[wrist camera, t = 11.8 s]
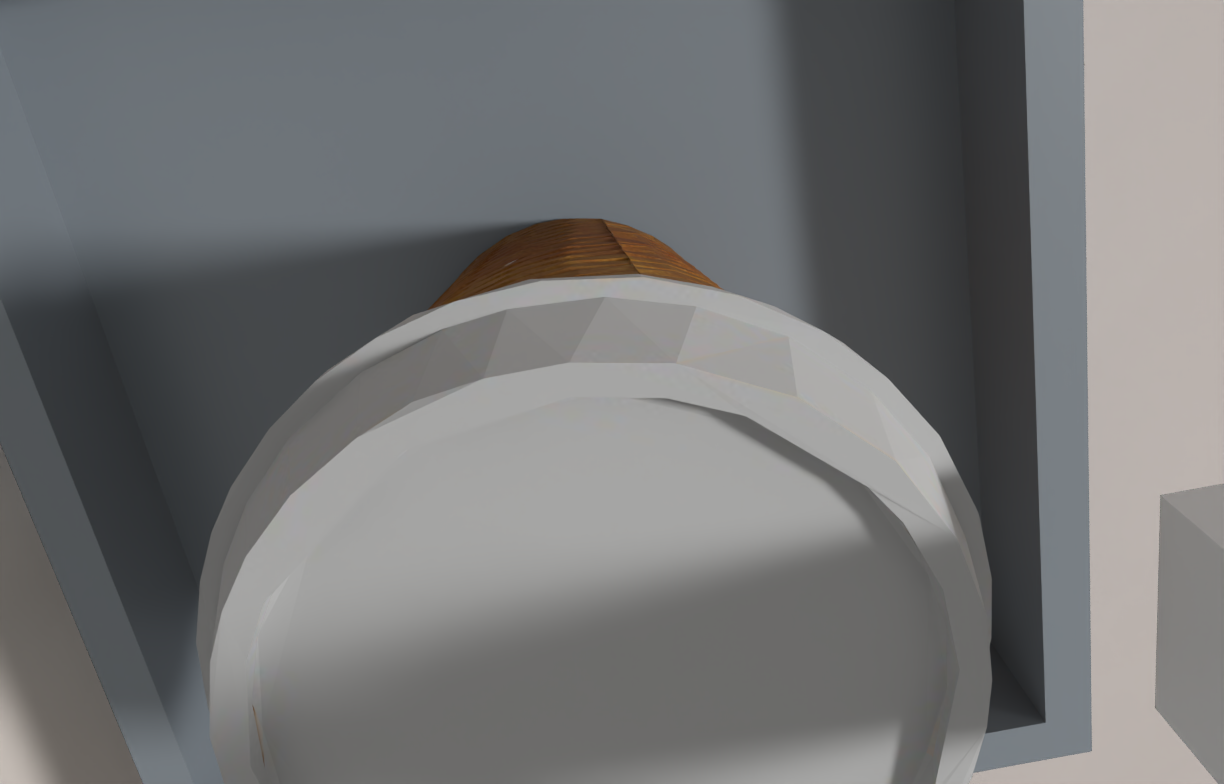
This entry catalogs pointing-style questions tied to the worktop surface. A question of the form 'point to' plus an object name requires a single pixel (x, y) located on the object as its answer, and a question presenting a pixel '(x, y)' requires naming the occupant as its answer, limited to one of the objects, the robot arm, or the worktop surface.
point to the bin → (501, 205)
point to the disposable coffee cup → (597, 548)
